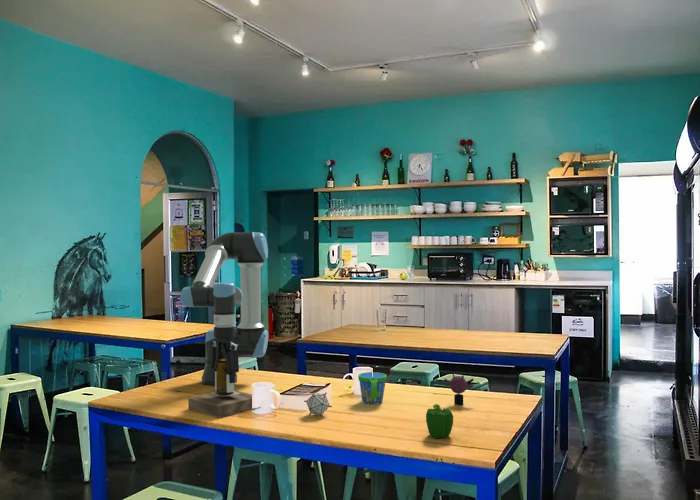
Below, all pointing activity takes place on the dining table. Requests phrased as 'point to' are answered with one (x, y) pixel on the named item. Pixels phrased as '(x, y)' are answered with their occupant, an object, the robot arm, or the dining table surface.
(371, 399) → the snack cup
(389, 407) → the dining table surface
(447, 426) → the bell pepper
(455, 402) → the figurine
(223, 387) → the condiment
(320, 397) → the game die
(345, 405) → the dining table surface
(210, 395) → the block
